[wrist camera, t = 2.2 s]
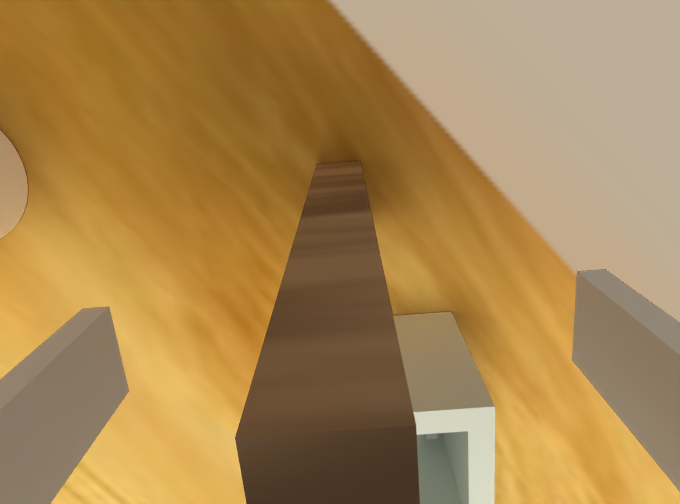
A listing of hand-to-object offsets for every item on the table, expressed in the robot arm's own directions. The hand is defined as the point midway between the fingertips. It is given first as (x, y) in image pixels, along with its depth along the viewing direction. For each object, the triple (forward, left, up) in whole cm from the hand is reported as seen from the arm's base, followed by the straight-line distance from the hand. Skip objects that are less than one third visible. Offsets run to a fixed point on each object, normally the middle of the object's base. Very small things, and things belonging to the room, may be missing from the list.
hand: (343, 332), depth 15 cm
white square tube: (+12, +2, -17) cm, 21 cm away
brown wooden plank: (0, 0, -17) cm, 17 cm away
